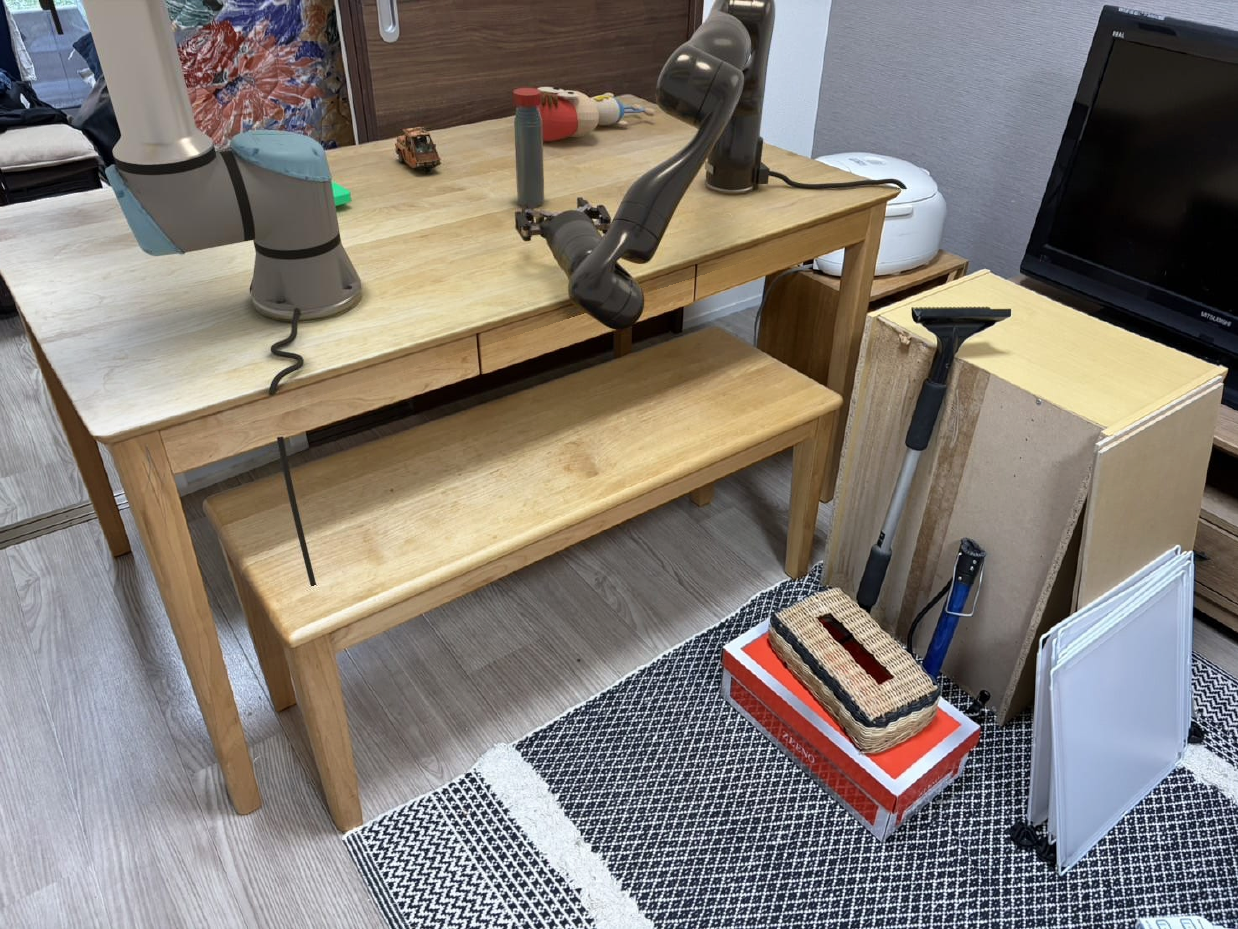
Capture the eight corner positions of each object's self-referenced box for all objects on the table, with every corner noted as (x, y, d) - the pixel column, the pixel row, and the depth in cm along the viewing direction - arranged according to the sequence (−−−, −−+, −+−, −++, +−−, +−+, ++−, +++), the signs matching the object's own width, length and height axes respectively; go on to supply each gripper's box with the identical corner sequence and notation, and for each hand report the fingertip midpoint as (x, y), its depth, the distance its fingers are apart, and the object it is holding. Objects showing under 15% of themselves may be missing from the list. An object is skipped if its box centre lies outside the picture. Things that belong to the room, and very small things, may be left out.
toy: (674, 93, 197) (551, 94, 182) (670, 142, 202) (549, 147, 187) (627, 81, 210) (509, 80, 195) (624, 127, 215) (508, 131, 200)
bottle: (548, 205, 166) (545, 96, 155) (522, 208, 164) (518, 99, 153) (538, 195, 169) (535, 88, 158) (513, 199, 168) (508, 91, 156)
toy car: (418, 153, 186) (414, 118, 181) (449, 170, 178) (446, 134, 174) (389, 159, 182) (385, 123, 178) (419, 177, 175) (416, 140, 171)
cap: (545, 105, 156) (545, 93, 154) (518, 108, 154) (518, 96, 153) (536, 97, 159) (535, 86, 158) (509, 100, 157) (509, 89, 156)
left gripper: (151, -134, 141) (187, 17, 154) (-38, -132, 131) (17, 30, 144) (159, -130, 136) (195, 26, 149) (-37, -127, 126) (20, 41, 138)
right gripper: (624, 216, 135) (596, 178, 147) (528, 224, 132) (508, 185, 144) (623, 264, 139) (595, 223, 152) (530, 273, 136) (510, 231, 149)
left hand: (108, 29), depth 146 cm, fingers open, 13 cm apart
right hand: (553, 205), depth 148 cm, fingers open, 8 cm apart
